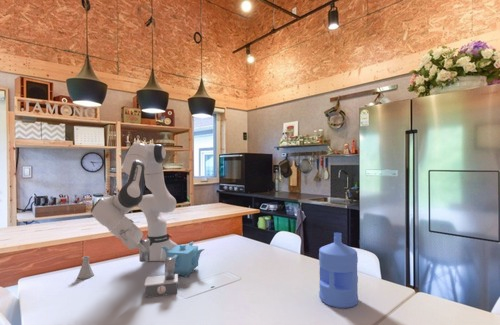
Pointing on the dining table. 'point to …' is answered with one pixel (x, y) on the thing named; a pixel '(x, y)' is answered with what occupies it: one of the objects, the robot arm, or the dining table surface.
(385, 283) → the dining table surface
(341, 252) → the water jug
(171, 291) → the scale
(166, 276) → the cylinder
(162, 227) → the robot arm
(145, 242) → the ball
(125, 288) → the dining table surface
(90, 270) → the flask
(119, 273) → the dining table surface
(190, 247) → the teakettle
